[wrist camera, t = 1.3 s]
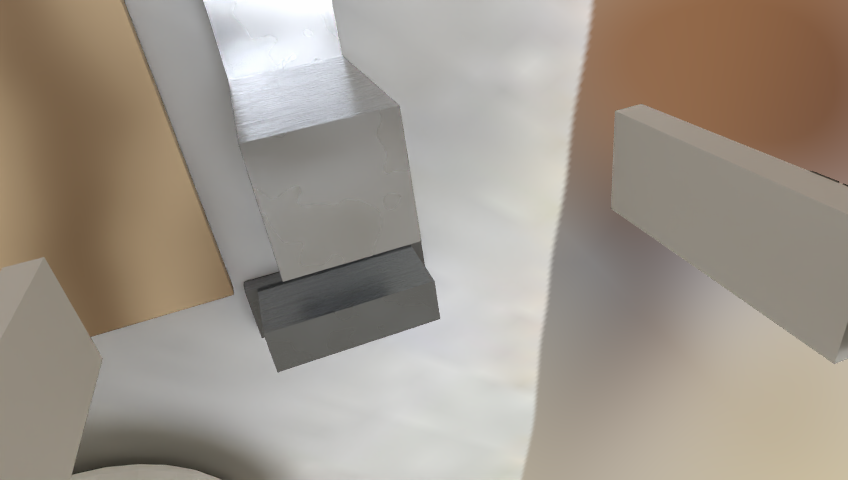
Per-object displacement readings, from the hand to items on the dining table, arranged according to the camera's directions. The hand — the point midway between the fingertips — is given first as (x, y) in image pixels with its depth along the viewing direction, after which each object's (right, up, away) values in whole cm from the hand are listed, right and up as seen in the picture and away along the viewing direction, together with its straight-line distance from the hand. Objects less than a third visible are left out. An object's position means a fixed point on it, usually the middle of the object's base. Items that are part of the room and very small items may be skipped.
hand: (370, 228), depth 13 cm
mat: (-12, +3, +7) cm, 14 cm away
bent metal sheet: (-4, +5, +9) cm, 11 cm away
